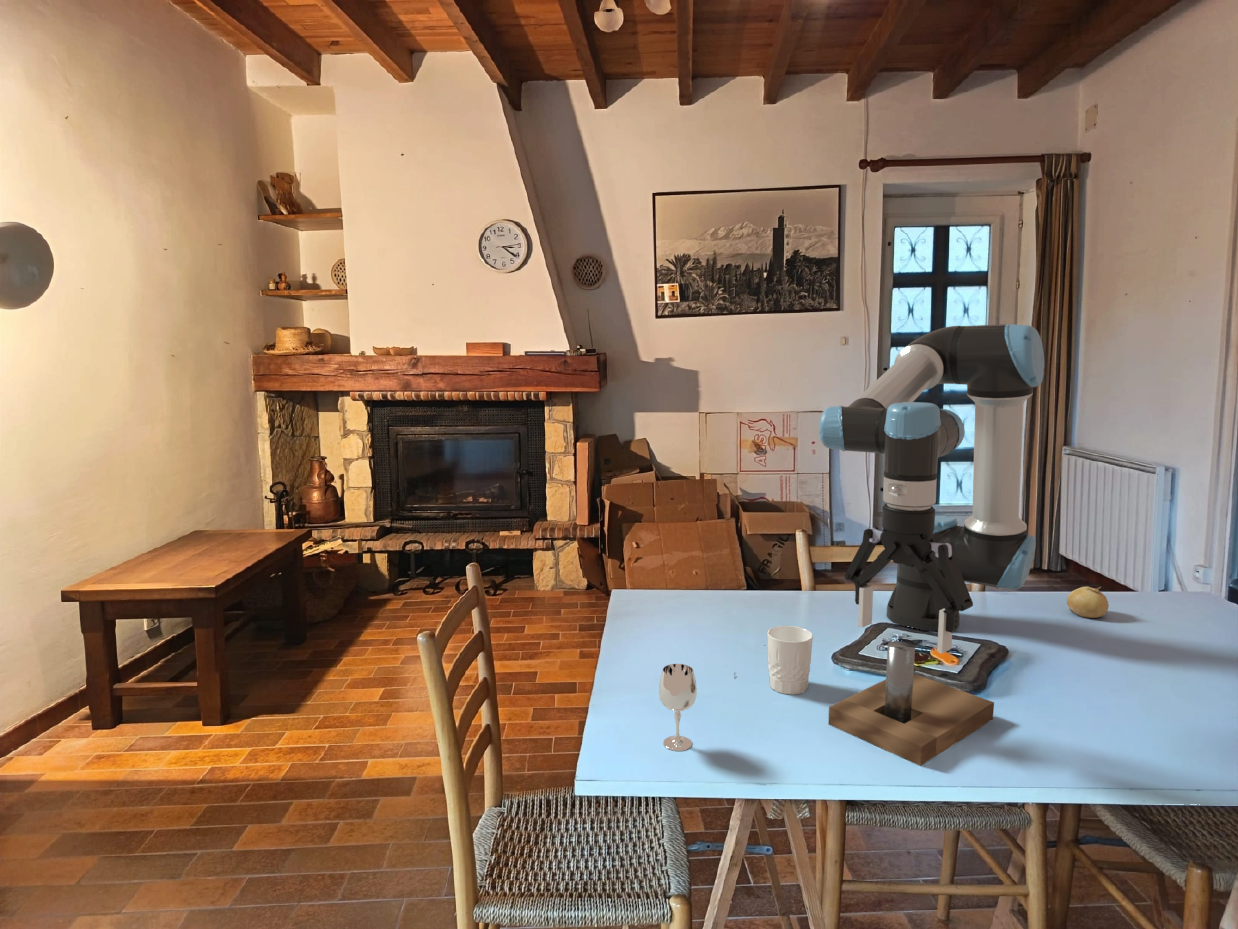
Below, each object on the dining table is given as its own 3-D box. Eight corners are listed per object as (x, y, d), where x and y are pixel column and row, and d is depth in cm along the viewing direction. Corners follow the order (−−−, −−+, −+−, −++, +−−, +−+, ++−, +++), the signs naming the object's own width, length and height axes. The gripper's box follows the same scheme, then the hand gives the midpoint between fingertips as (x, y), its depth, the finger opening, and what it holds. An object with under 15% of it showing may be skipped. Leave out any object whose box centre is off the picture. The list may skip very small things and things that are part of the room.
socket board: (828, 724, 123) (829, 706, 122) (903, 686, 136) (904, 670, 136) (920, 766, 110) (921, 746, 110) (992, 719, 124) (994, 702, 123)
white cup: (812, 680, 139) (814, 628, 137) (808, 699, 132) (810, 644, 130) (769, 675, 141) (770, 623, 140) (763, 693, 134) (764, 639, 133)
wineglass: (656, 735, 120) (656, 663, 118) (692, 733, 120) (693, 661, 118) (661, 754, 114) (661, 679, 112) (699, 752, 115) (700, 677, 113)
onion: (1064, 617, 171) (1067, 586, 169) (1067, 607, 177) (1070, 577, 176) (1106, 624, 166) (1109, 592, 165) (1108, 613, 172) (1111, 583, 171)
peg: (878, 728, 121) (882, 645, 119) (892, 721, 124) (896, 639, 122) (901, 738, 118) (906, 653, 116) (915, 730, 121) (920, 646, 118)
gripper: (825, 496, 123) (822, 620, 126) (977, 523, 103) (968, 670, 107) (852, 489, 127) (849, 610, 131) (1003, 514, 108) (994, 655, 111)
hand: (902, 637), depth 119 cm, fingers open, 13 cm apart
